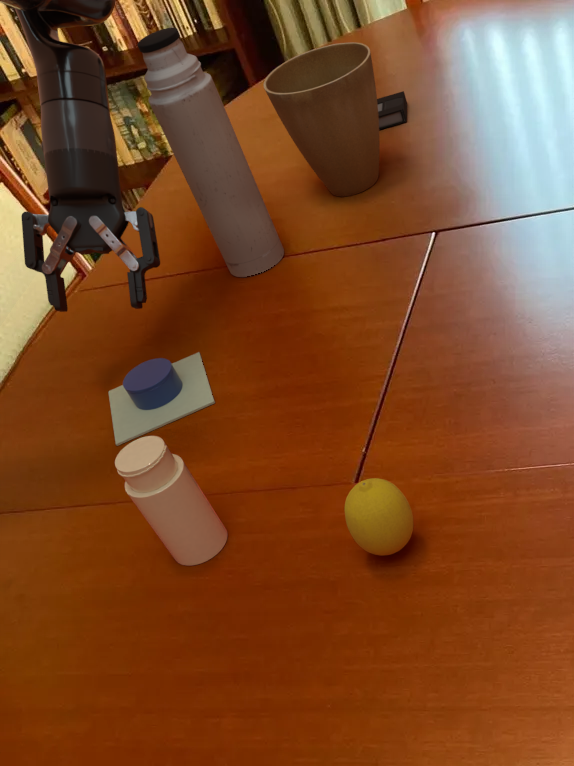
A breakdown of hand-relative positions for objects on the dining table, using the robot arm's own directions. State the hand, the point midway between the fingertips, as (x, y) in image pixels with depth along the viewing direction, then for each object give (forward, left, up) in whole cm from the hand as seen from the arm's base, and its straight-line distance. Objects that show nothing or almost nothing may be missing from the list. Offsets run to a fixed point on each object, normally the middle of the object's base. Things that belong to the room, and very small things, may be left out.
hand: (99, 309), depth 100 cm
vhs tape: (+25, +60, -10) cm, 66 cm away
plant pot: (+25, +39, -10) cm, 47 cm away
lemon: (+34, -37, -10) cm, 51 cm away
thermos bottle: (+12, +23, -10) cm, 28 cm away
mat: (+4, -5, -10) cm, 11 cm away
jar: (+14, -31, -10) cm, 36 cm away
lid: (+3, -4, -7) cm, 9 cm away
